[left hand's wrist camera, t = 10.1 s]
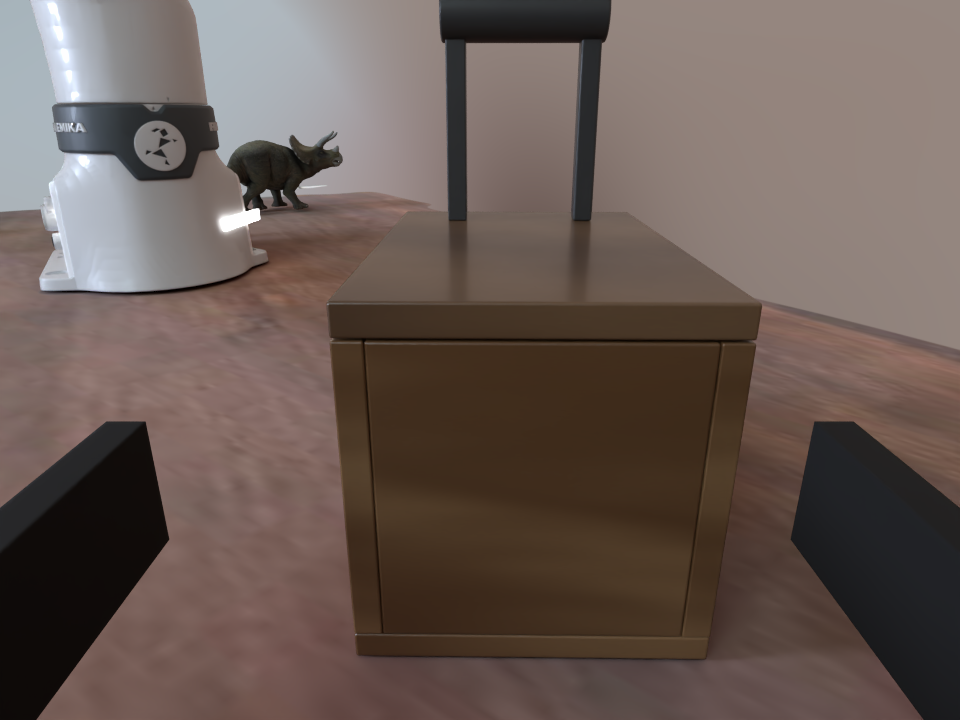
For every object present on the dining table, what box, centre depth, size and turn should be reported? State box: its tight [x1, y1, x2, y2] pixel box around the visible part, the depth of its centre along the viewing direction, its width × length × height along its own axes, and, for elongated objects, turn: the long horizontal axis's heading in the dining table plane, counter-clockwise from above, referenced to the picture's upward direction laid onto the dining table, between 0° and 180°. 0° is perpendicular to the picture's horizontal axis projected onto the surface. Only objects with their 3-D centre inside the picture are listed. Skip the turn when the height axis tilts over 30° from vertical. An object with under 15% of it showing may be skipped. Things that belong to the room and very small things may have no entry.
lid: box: [327, 0, 762, 340], centre depth 19 cm, size 14×9×9 cm, turn 179°
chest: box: [330, 338, 756, 659], centre depth 22 cm, size 14×9×9 cm
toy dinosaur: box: [227, 131, 343, 212], centre depth 95 cm, size 22×8×11 cm, turn 130°
